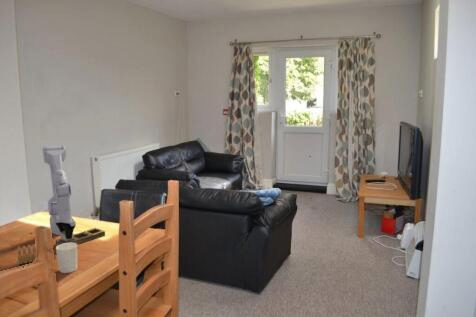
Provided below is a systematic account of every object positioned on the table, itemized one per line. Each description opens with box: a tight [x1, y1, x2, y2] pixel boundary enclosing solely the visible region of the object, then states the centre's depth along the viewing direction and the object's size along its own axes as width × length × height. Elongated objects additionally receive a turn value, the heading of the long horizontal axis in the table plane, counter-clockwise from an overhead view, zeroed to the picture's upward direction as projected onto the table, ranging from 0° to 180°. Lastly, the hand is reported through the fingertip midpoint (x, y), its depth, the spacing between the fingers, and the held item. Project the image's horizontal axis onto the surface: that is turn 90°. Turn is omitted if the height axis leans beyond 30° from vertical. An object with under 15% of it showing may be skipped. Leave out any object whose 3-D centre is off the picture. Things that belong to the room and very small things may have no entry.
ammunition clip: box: [17, 243, 37, 266], centre depth 160 cm, size 11×2×12 cm, turn 117°
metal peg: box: [59, 231, 74, 243], centre depth 190 cm, size 4×4×6 cm
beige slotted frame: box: [55, 227, 106, 246], centre depth 196 cm, size 8×21×2 cm, turn 141°
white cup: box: [55, 243, 78, 274], centre depth 163 cm, size 8×8×10 cm
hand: (66, 237), depth 190 cm, fingers closed on metal peg, 4 cm apart
